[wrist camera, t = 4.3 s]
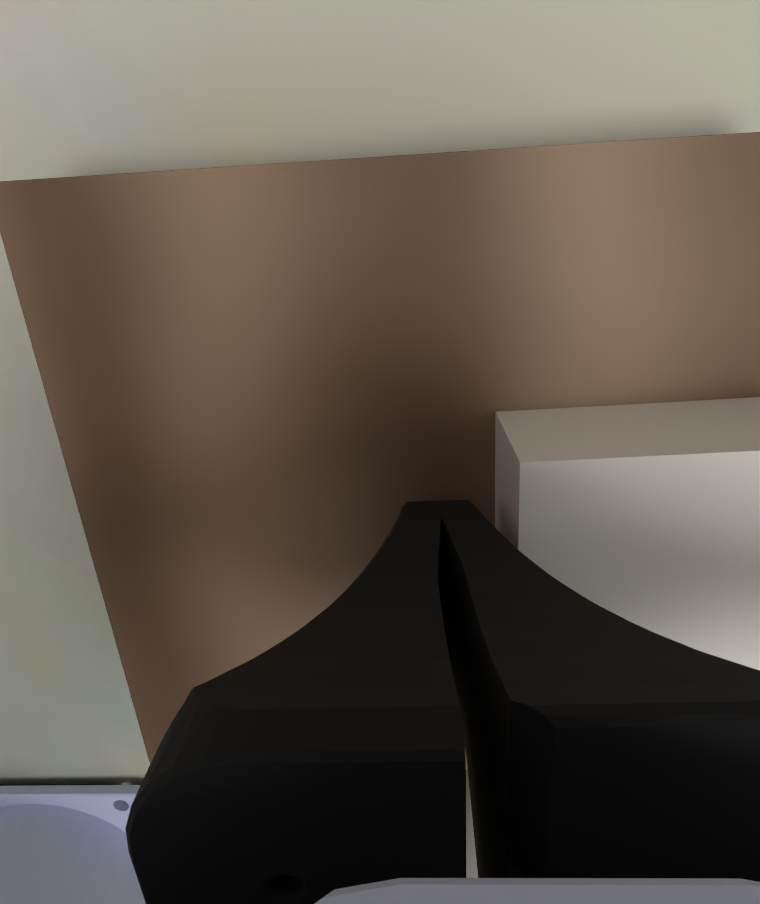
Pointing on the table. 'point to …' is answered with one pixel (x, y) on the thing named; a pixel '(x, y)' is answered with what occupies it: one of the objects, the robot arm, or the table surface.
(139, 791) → the robot arm
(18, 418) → the table surface
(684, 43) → the table surface
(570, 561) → the block
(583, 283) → the walnut plate
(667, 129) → the table surface
